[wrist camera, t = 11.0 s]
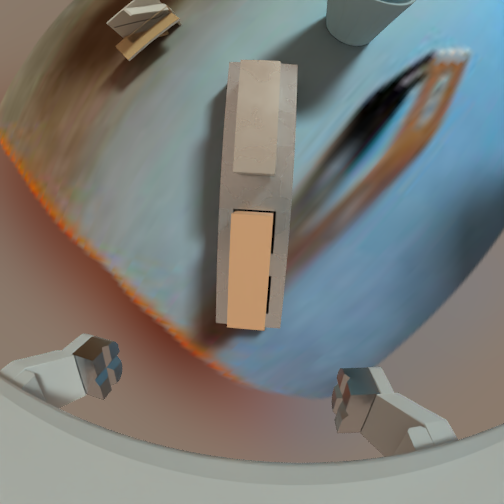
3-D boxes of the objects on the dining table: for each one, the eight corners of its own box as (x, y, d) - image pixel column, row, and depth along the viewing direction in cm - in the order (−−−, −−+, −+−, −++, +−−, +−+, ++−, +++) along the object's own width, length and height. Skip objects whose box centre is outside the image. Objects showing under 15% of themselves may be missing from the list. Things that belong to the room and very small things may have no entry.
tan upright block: (273, 209, 27) (273, 216, 20) (266, 298, 29) (264, 330, 22) (241, 207, 27) (231, 213, 20) (237, 296, 29) (227, 327, 22)
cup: (392, 55, 22) (432, 11, 12) (327, 56, 23) (349, 1, 13) (369, 5, 21) (396, -45, 11) (308, 5, 22) (317, -53, 12)
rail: (295, 78, 24) (300, 47, 17) (279, 312, 29) (280, 347, 22) (234, 76, 24) (222, 45, 18) (222, 308, 30) (208, 340, 23)
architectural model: (190, 33, 24) (169, -2, 17) (142, 71, 25) (110, 46, 18) (174, 19, 23) (151, -14, 16) (128, 56, 25) (96, 31, 18)
